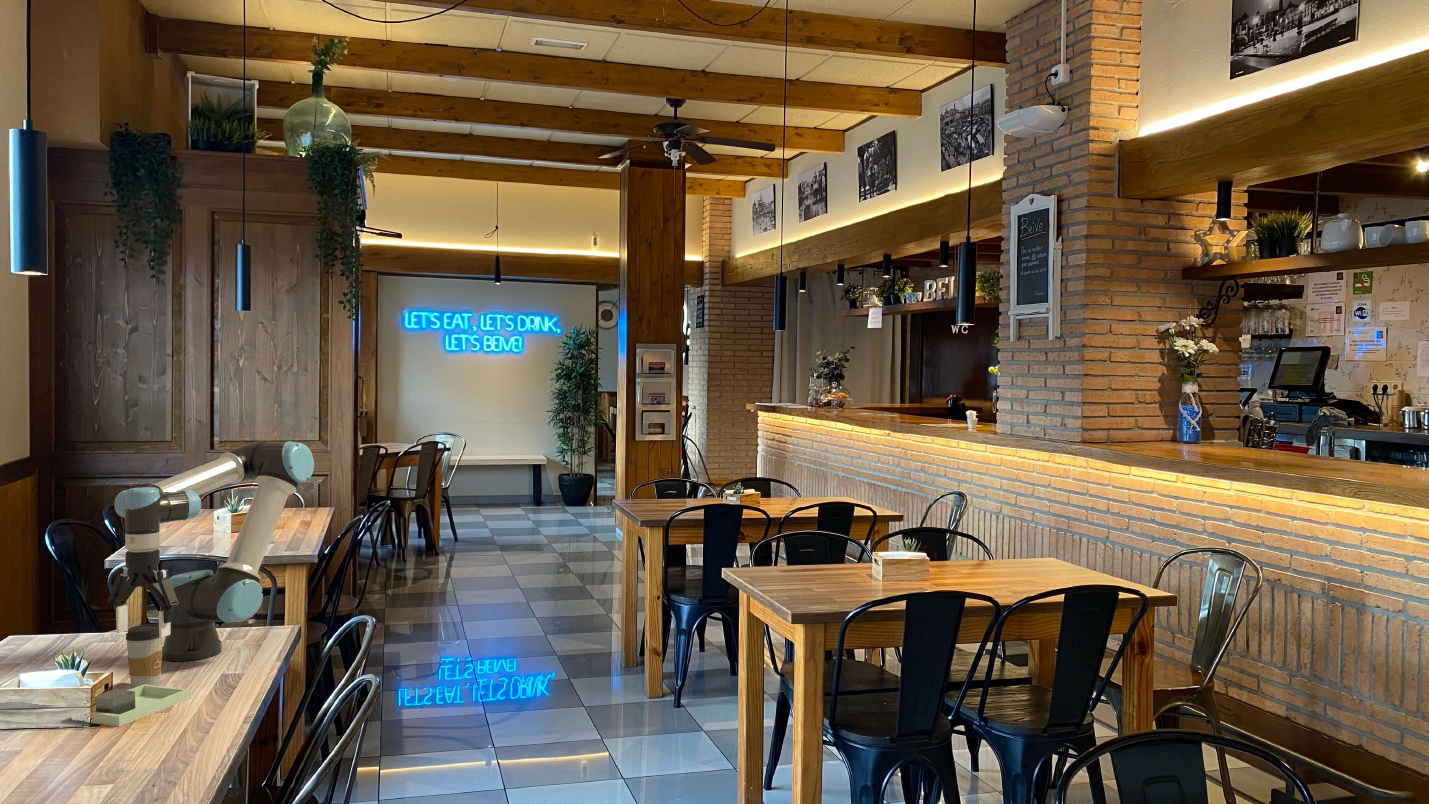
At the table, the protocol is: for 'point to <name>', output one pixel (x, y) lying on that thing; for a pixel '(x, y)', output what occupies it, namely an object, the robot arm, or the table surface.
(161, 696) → the green tray
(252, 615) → the robot arm
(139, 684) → the coffee cup
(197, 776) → the table surface
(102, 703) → the cube
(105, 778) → the table surface
